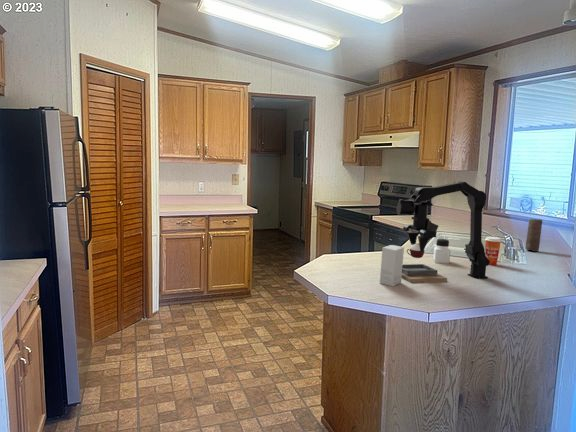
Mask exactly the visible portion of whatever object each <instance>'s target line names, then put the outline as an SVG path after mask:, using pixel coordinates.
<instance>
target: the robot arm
mask: <svg viewBox="0 0 576 432" xmlns="http://www.w3.org/2000/svg"><path fill="white" fill-rule="evenodd" d="M457 192H461V193H462V195H463V196H465V198H466V199H467V204H468V207H469V210H470V227H469V228H470V229H469V230H470V231H469V233H470V235H469V236H470V239H469V242H468V244H467V243H465V246H464V247H465V251H464V253H465V254H466V255H465V256H467V258H468V260H469V262H471V264H470V269H469V270H470V271H469V273H467V276H469V277H471V278H475V279H488V278H489V276H486V271H487V267H489V266H490V265H489V263H490V261H489V260H488V259H487V257H486V256H485V247H484V244H483V242H482V238H483V236H482V233H483V229H482V228H483V226H482V225H483V210H484V208H485V205H486V203H487V193H486V192H485V191H483V190H478V189H477V188H475V187H474V186H472V185H471V184H469V183H467V181H460V180H459V181H458V182H453V183H452V182H451V183H448V184H443V185H437V186H418V187H415V189H414V191H413V194H412V195H411V196H410V197H409V198H408V199H405V200H404V199H399V200H398V202H397V205H396V214H397V215H399V216H411V215H412V214H413V216H412V217H411V220H413V221H412V224H404V225H403V227H402V230H403V232H405V234H406V235H407V237H408V239H409V240H408V241H409V243H410V246H411V245H413V244H416V243H417V241H418V243H419V246H420V250H421V251H424V252H425V249H424V248H426V246H427V243H428V242H429V241H430V240H431V239H433V238H437V230H438V229H439V224H436V223H433V222H432V220H430V219H429V218H428V208H429V207H433V206H434V204H433V202H431V200H432V199H433V198H435V197H437V196H442V195H446V194H451V193H452V194H453V193H457ZM417 239H418V240H417Z"/></svg>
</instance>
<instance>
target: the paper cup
mask: <svg viewBox="0 0 576 432" xmlns="http://www.w3.org/2000/svg"><path fill="white" fill-rule="evenodd" d="M484 240H485V247H484V250H485V256H486V257H487V259H488V260H489V261H490V263H489V265H488V266H497V264H498V259H499V255H500V248H501V243H502V238H501V237H497V236H486V238H485V239H484Z"/></svg>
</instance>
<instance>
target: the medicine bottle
mask: <svg viewBox="0 0 576 432" xmlns="http://www.w3.org/2000/svg"><path fill="white" fill-rule="evenodd" d="M449 245H450V241H449V240H448V239H447V238H438V239H436V245H435V246H434V248H433V256H432V259H433V262H434V263H435V262H436V263H435V264H448V265H449V264H450V259H451V249H450V248H449Z"/></svg>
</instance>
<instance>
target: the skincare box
mask: <svg viewBox="0 0 576 432" xmlns="http://www.w3.org/2000/svg"><path fill="white" fill-rule="evenodd" d="M404 250H405V247H404V246H399V245H395V244H389V245H386V246H384V247H382V252H381V263H380V272H379V273H380V274H379V284H380V285H386V286H389V287H395V286H397V285H399V284H401V283H402V278H401V276H402V265H404V264H403V263H404V252H405V251H404Z"/></svg>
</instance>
